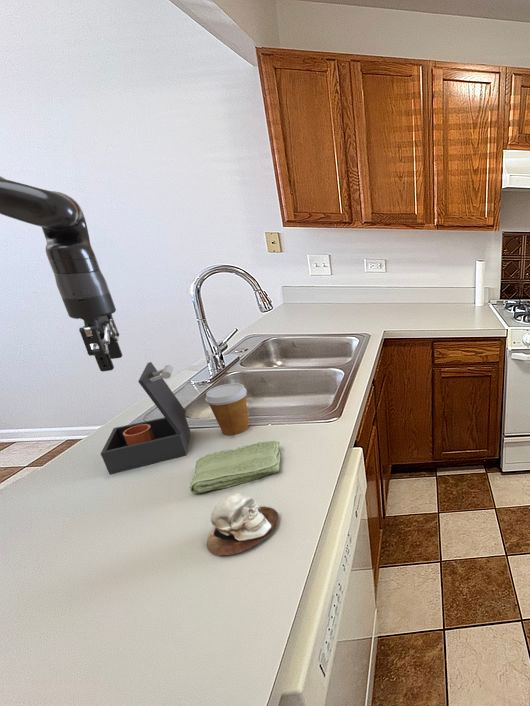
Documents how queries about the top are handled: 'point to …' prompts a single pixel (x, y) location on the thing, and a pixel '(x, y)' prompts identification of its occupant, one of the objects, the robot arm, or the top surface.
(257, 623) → the top surface
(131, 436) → the creamer cup
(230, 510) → the skull
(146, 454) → the dark grey box
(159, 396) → the lid
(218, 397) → the disposable coffee cup
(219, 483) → the washcloth
